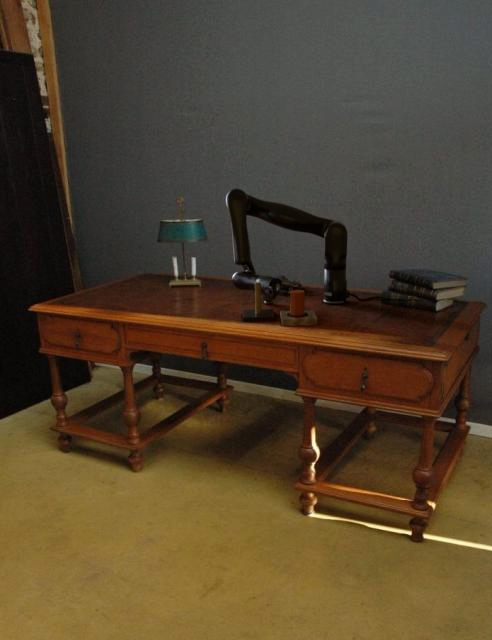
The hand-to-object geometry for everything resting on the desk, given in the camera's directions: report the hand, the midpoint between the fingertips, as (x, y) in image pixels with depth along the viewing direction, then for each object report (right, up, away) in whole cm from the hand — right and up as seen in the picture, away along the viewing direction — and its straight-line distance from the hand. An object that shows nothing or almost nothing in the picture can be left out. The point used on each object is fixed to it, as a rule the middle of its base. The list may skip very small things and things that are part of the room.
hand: (295, 292), depth 249 cm
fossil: (-3, +9, +53) cm, 54 cm away
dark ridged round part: (-10, 0, +29) cm, 31 cm away
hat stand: (-14, -8, +9) cm, 19 cm away
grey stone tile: (+1, -11, +3) cm, 11 cm away
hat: (+1, -8, +2) cm, 9 cm away
